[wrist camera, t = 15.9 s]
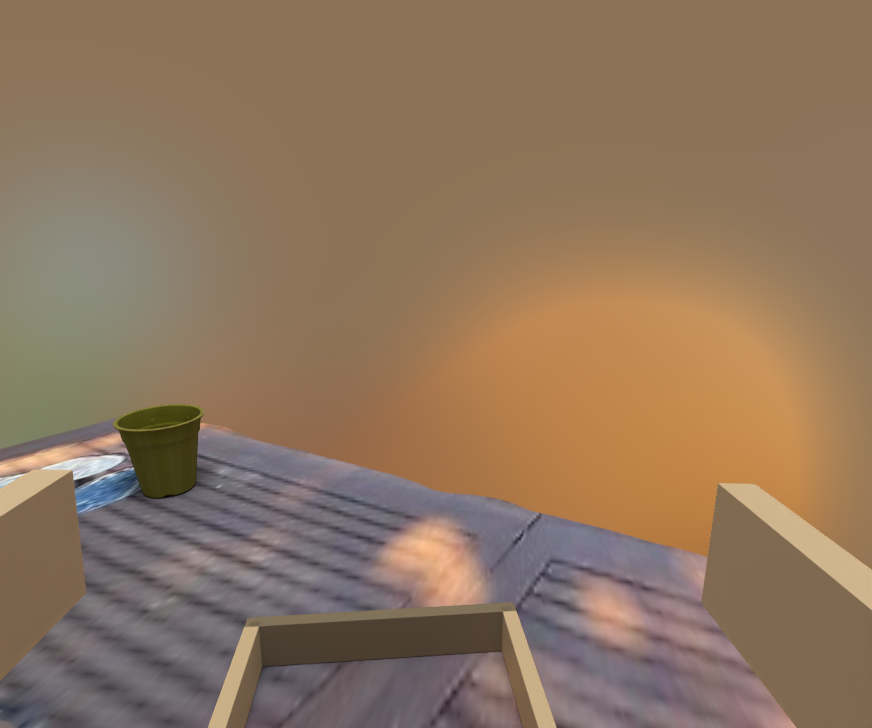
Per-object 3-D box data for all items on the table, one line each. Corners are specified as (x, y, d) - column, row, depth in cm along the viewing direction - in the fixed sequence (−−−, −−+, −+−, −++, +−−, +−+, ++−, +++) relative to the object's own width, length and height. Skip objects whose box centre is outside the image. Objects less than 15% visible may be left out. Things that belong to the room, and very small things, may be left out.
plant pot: (147, 472, 90) (139, 404, 87) (223, 471, 90) (216, 403, 87) (105, 507, 78) (94, 430, 76) (192, 506, 78) (183, 429, 76)
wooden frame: (572, 837, 35) (576, 785, 34) (181, 874, 33) (174, 820, 32) (512, 640, 52) (513, 602, 51) (251, 657, 50) (247, 617, 49)
